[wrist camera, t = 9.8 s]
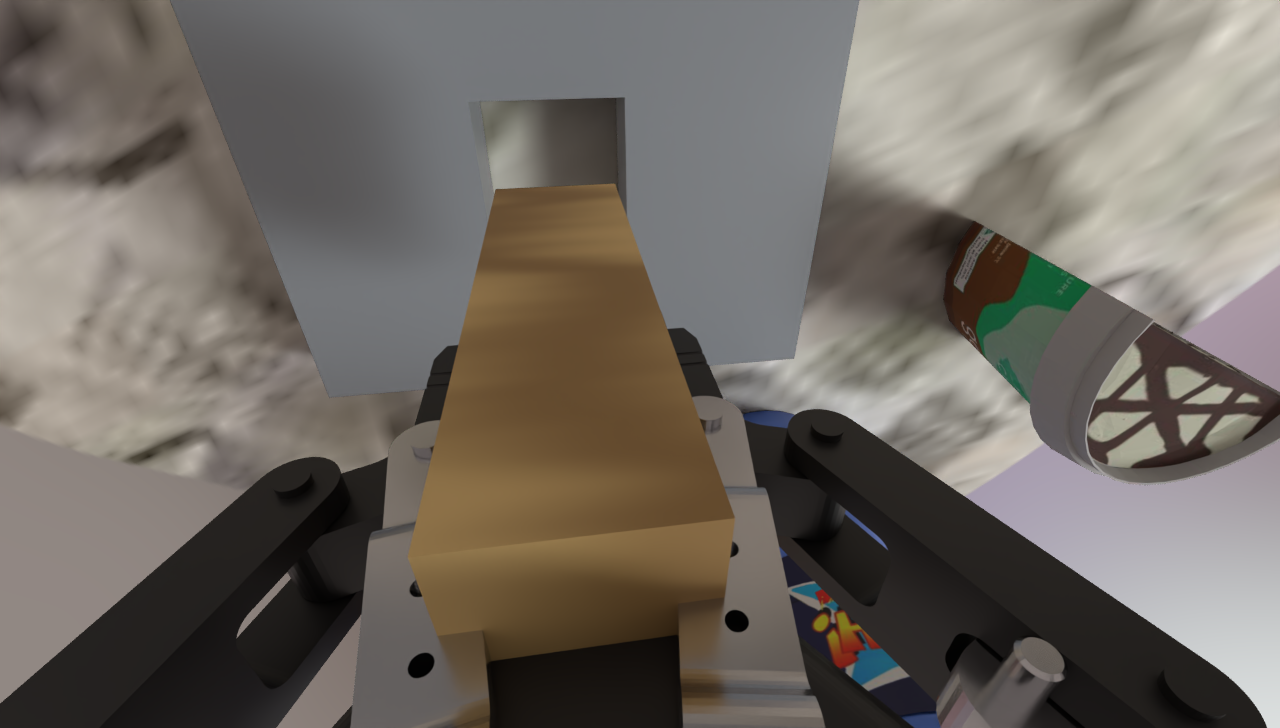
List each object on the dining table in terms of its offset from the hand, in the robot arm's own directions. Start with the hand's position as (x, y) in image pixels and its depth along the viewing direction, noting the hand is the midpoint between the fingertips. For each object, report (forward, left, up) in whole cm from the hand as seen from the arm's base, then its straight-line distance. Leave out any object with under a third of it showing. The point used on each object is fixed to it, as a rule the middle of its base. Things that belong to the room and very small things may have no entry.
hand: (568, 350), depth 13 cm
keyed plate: (0, 0, -12) cm, 12 cm away
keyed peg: (0, 0, -3) cm, 3 cm away
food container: (+7, +22, -12) cm, 26 cm away
